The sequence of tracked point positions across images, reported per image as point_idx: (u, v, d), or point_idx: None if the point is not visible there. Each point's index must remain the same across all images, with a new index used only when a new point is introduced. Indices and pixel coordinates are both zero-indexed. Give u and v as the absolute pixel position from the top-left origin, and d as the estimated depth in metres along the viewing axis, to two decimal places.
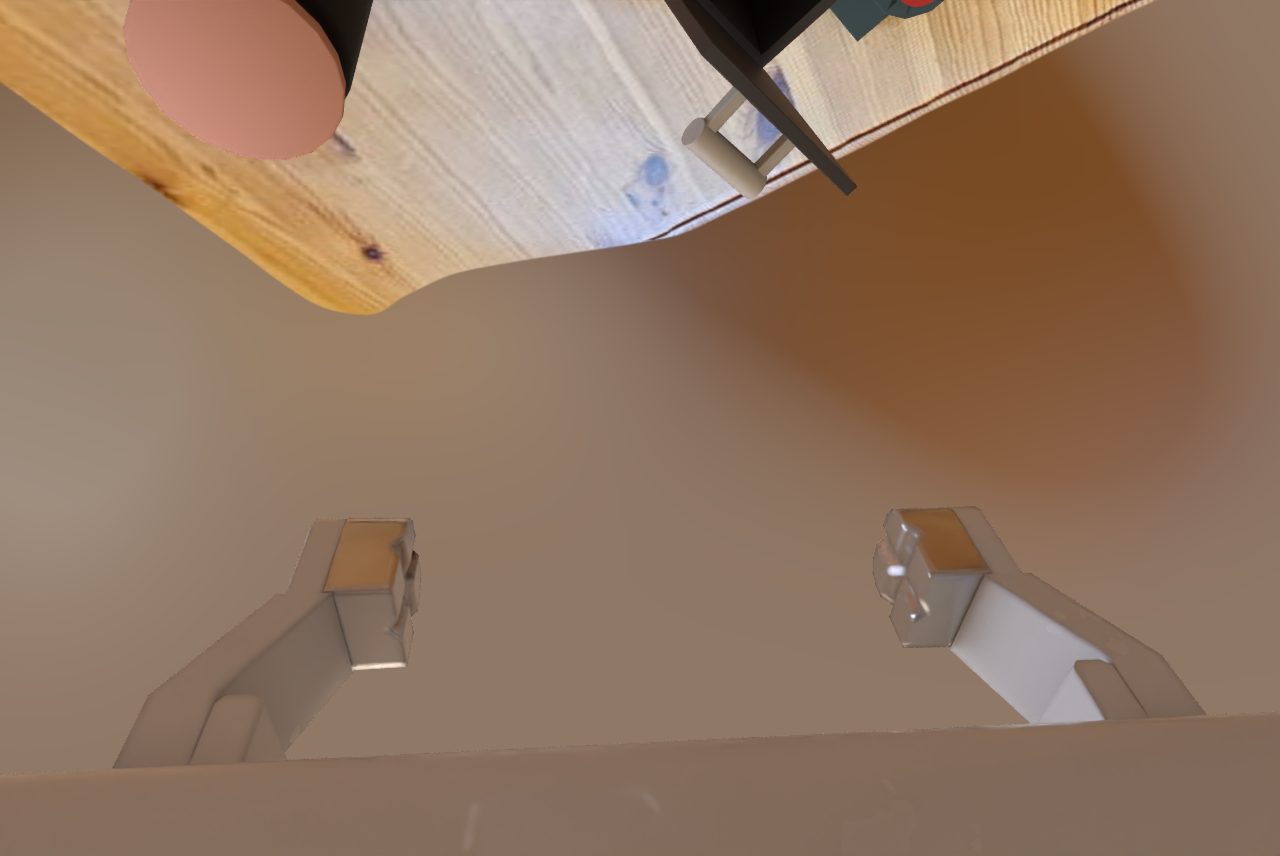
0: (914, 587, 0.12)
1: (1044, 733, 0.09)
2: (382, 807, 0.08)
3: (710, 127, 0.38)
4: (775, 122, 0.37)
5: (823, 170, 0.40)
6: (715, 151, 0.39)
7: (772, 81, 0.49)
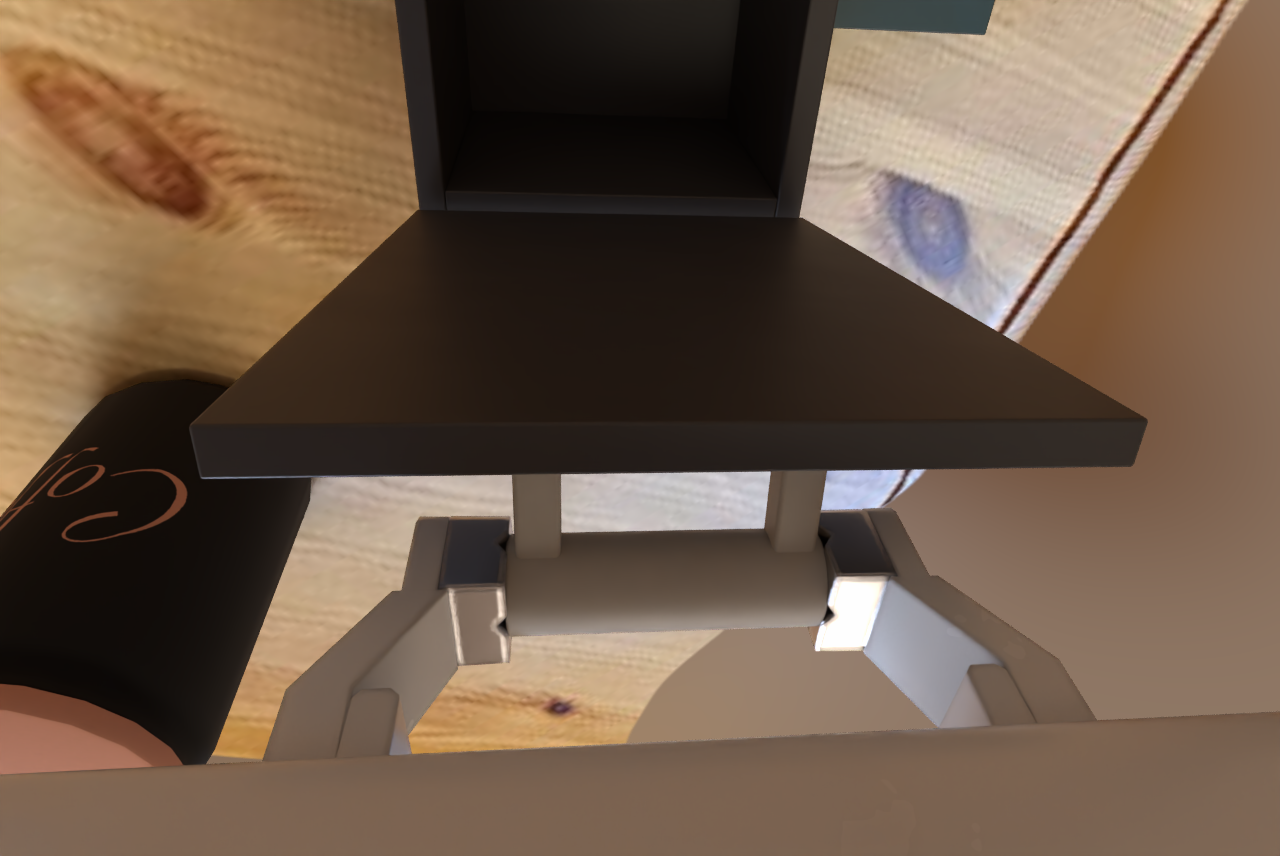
0: None
1: (1044, 733, 0.09)
2: (382, 807, 0.08)
3: (532, 554, 0.12)
4: (644, 463, 0.09)
5: (965, 462, 0.10)
6: (590, 606, 0.12)
7: (808, 234, 0.21)
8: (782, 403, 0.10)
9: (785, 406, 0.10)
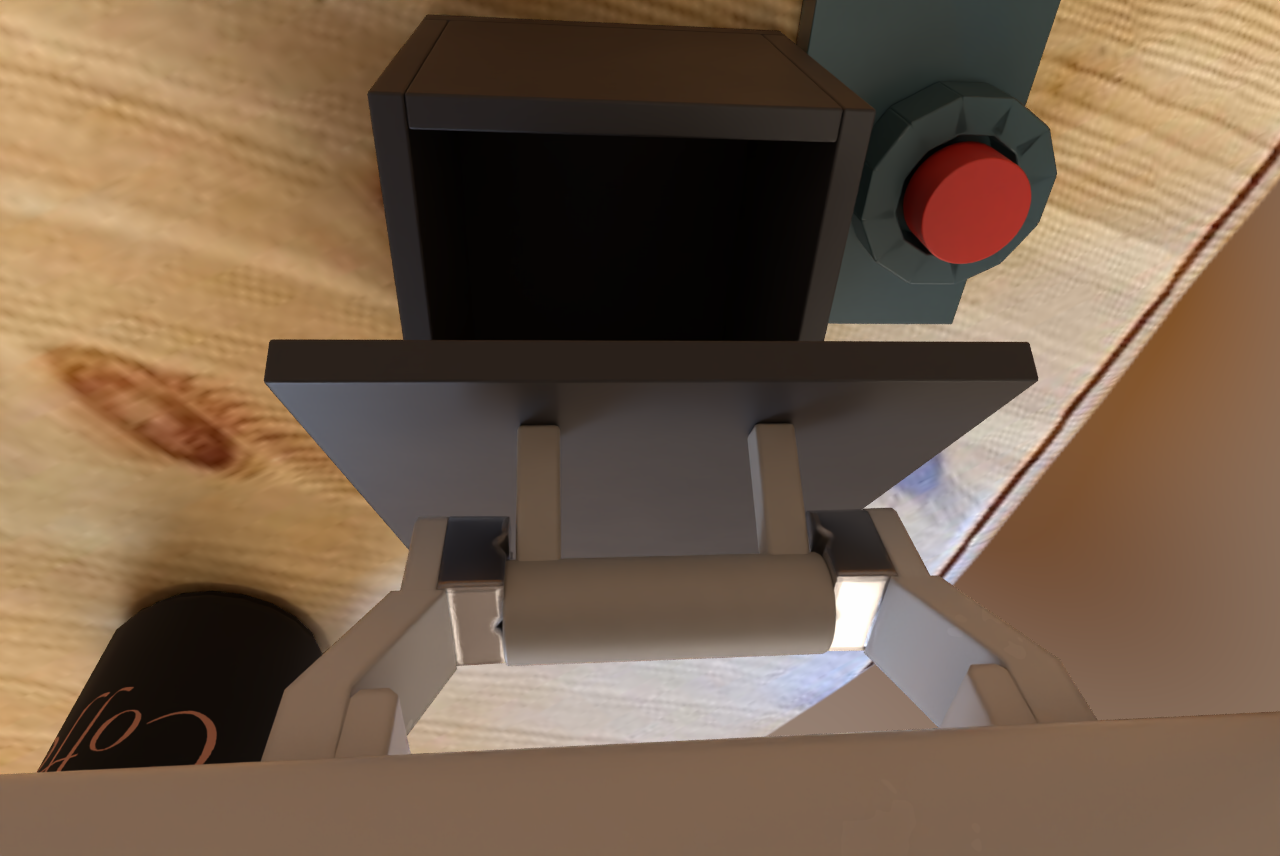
0: None
1: (1044, 733, 0.09)
2: (382, 807, 0.08)
3: (532, 560, 0.12)
4: (627, 372, 0.11)
5: (894, 374, 0.12)
6: (590, 594, 0.11)
7: None
8: None
9: None
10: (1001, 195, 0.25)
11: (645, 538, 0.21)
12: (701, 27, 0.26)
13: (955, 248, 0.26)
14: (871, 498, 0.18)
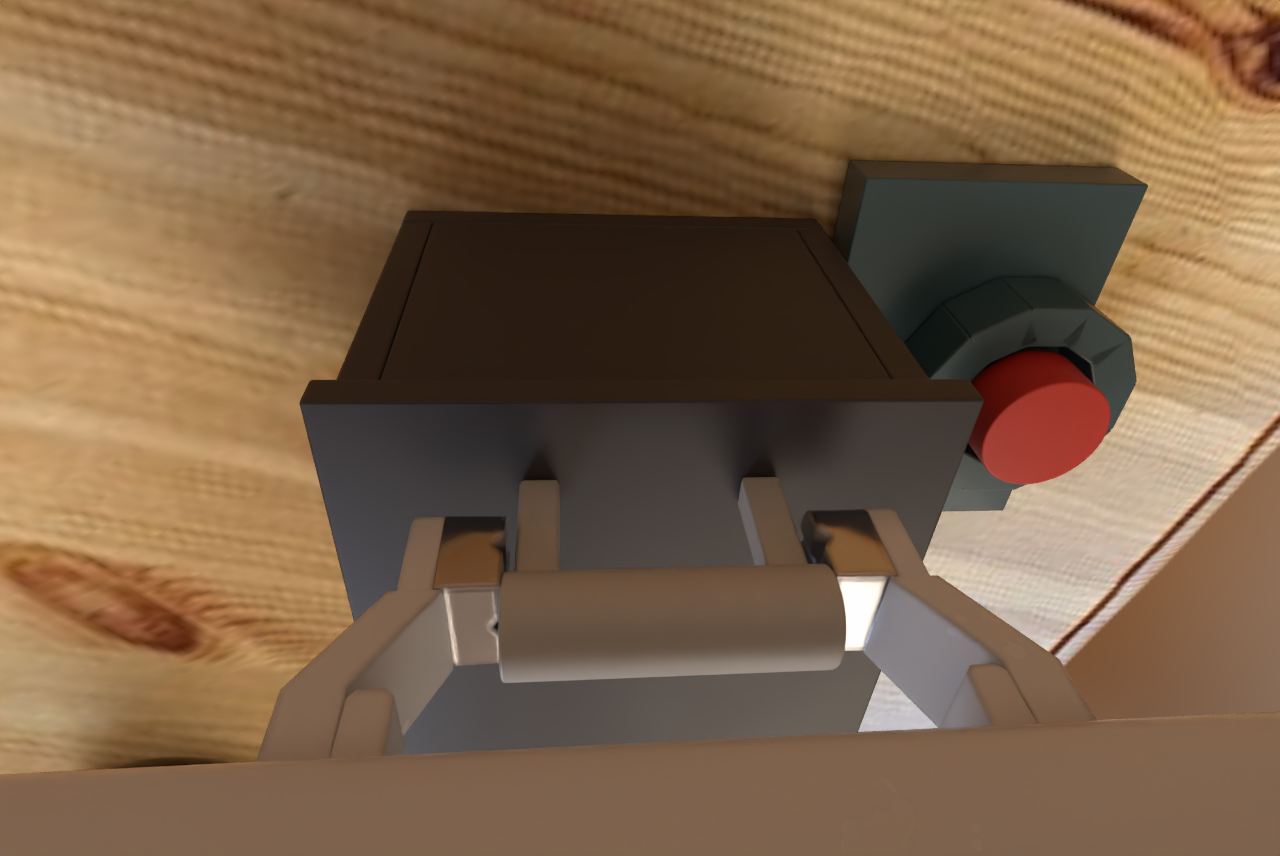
0: None
1: (1044, 733, 0.09)
2: (382, 807, 0.08)
3: None
4: (618, 395, 0.13)
5: (854, 396, 0.13)
6: (589, 582, 0.11)
7: None
8: None
9: None
10: (1076, 418, 0.21)
11: None
12: (725, 217, 0.22)
13: (1019, 470, 0.22)
14: None
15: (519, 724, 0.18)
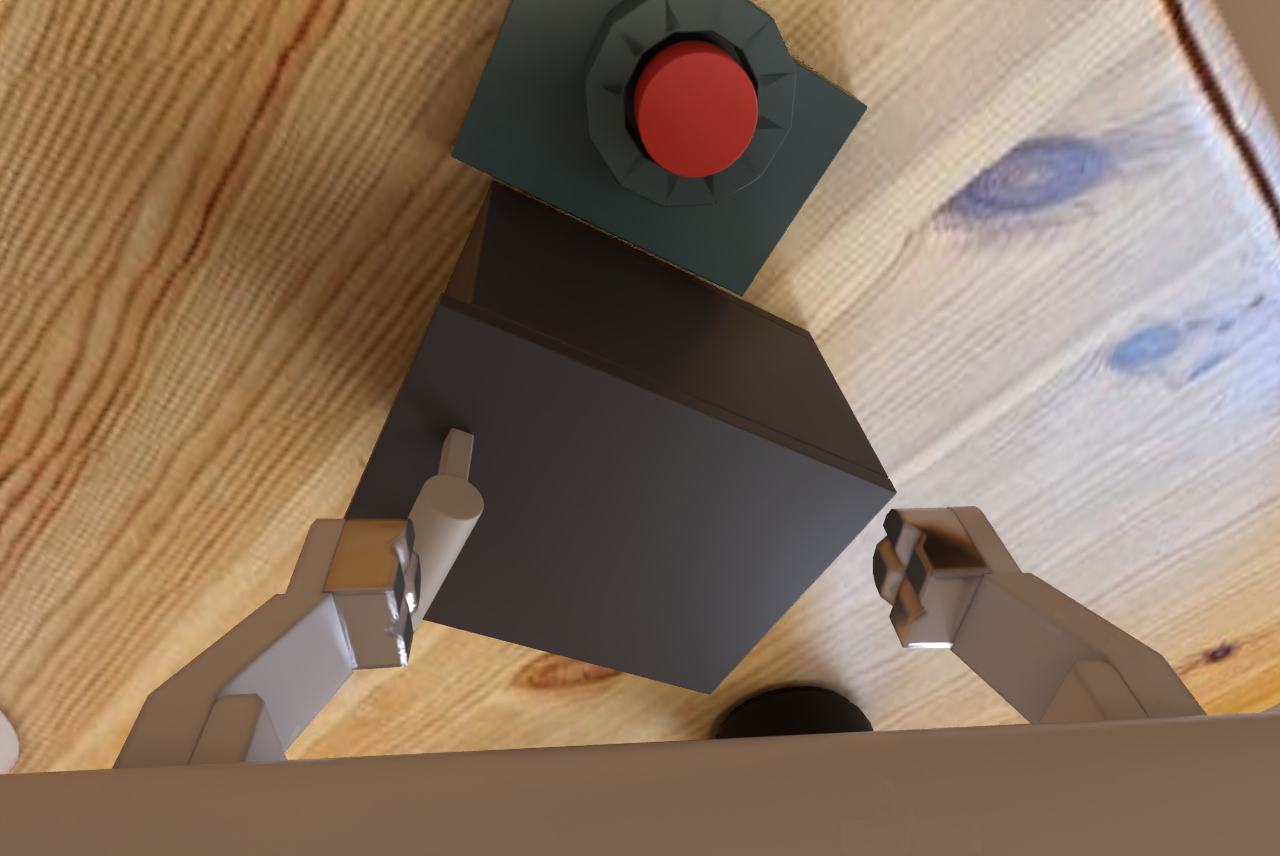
0: (914, 587, 0.12)
1: (1044, 733, 0.09)
2: (382, 807, 0.08)
3: None
4: (362, 478, 0.23)
5: (408, 372, 0.21)
6: None
7: None
8: None
9: None
10: (692, 87, 0.22)
11: (681, 552, 0.26)
12: (465, 243, 0.29)
13: (726, 147, 0.23)
14: (661, 401, 0.22)
15: (606, 604, 0.27)
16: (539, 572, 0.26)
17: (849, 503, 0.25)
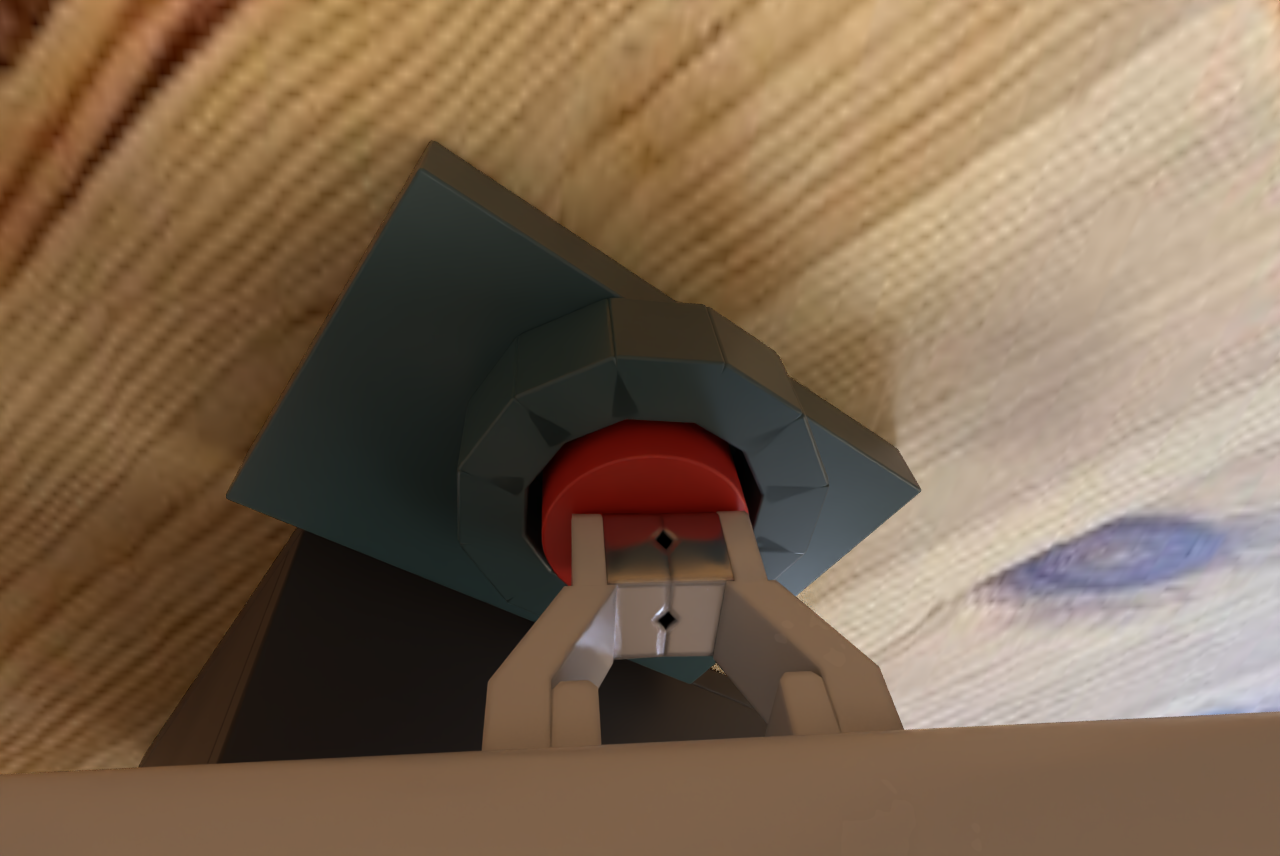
0: None
1: (1044, 733, 0.09)
2: (382, 807, 0.08)
3: None
4: None
5: None
6: None
7: None
8: None
9: None
10: (641, 499, 0.13)
11: None
12: (264, 576, 0.18)
13: None
14: None
15: None
16: None
17: None
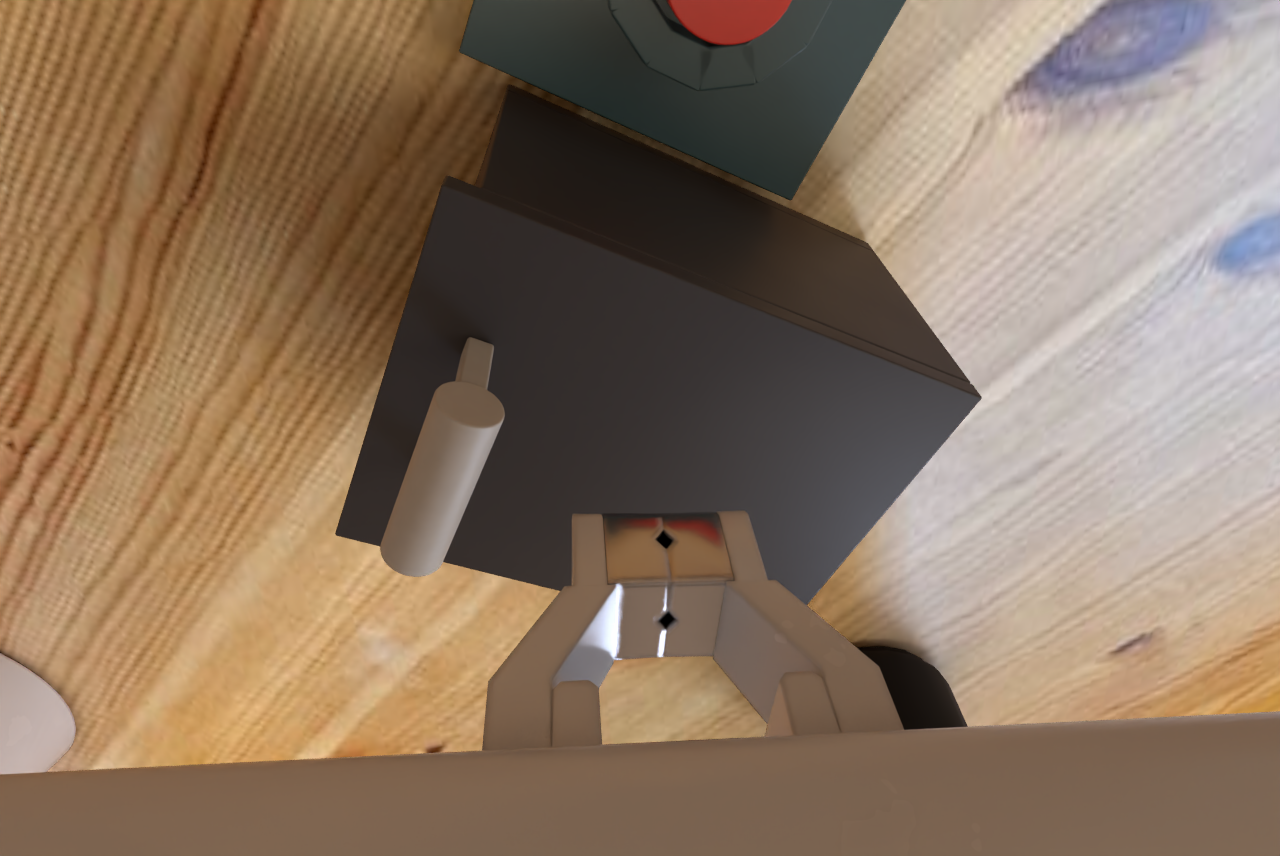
0: None
1: (1044, 733, 0.09)
2: (382, 807, 0.08)
3: None
4: (375, 402, 0.21)
5: (415, 272, 0.18)
6: (395, 507, 0.19)
7: None
8: None
9: None
10: None
11: (734, 477, 0.23)
12: None
13: (767, 4, 0.20)
14: (704, 294, 0.19)
15: None
16: (577, 507, 0.23)
17: (926, 412, 0.22)
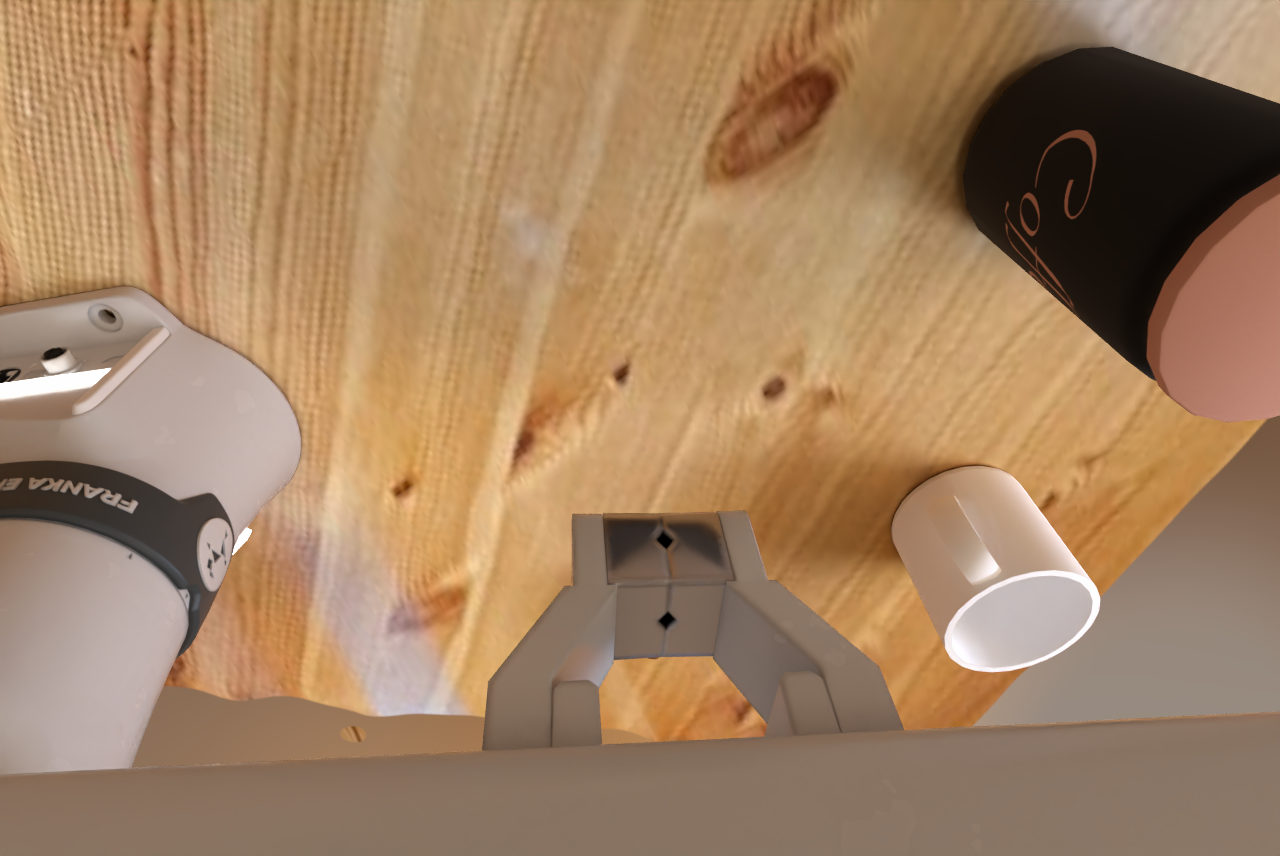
0: None
1: (1044, 733, 0.09)
2: (382, 807, 0.08)
3: None
4: None
5: None
6: None
7: None
8: None
9: None
10: None
11: None
12: None
13: None
14: None
15: None
16: None
17: None
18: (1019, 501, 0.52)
